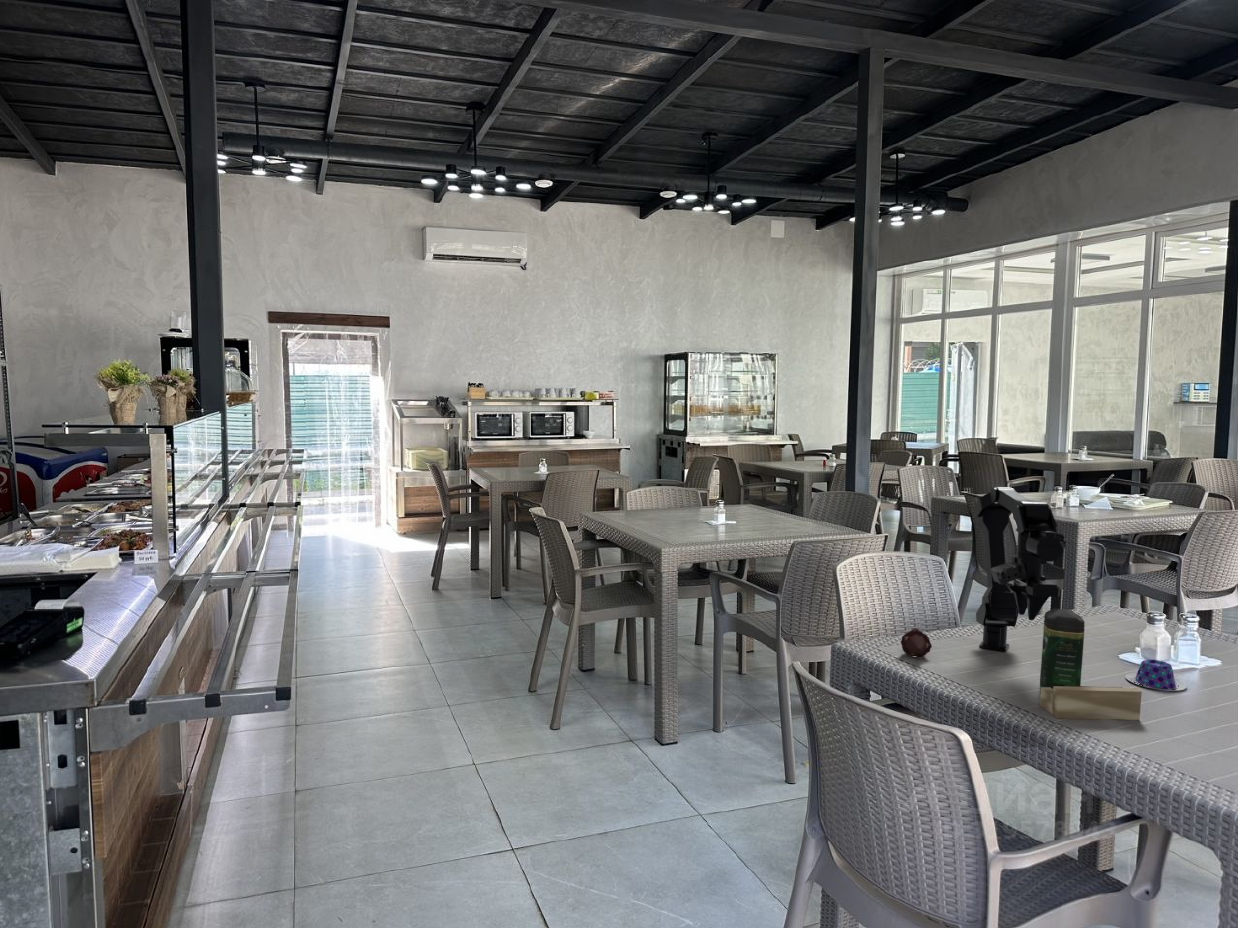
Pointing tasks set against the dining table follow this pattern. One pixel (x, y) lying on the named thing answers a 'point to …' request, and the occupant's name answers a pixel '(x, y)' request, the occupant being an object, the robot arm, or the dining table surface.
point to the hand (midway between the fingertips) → (1026, 617)
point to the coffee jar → (1062, 649)
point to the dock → (1092, 702)
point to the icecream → (916, 643)
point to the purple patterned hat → (1156, 675)
